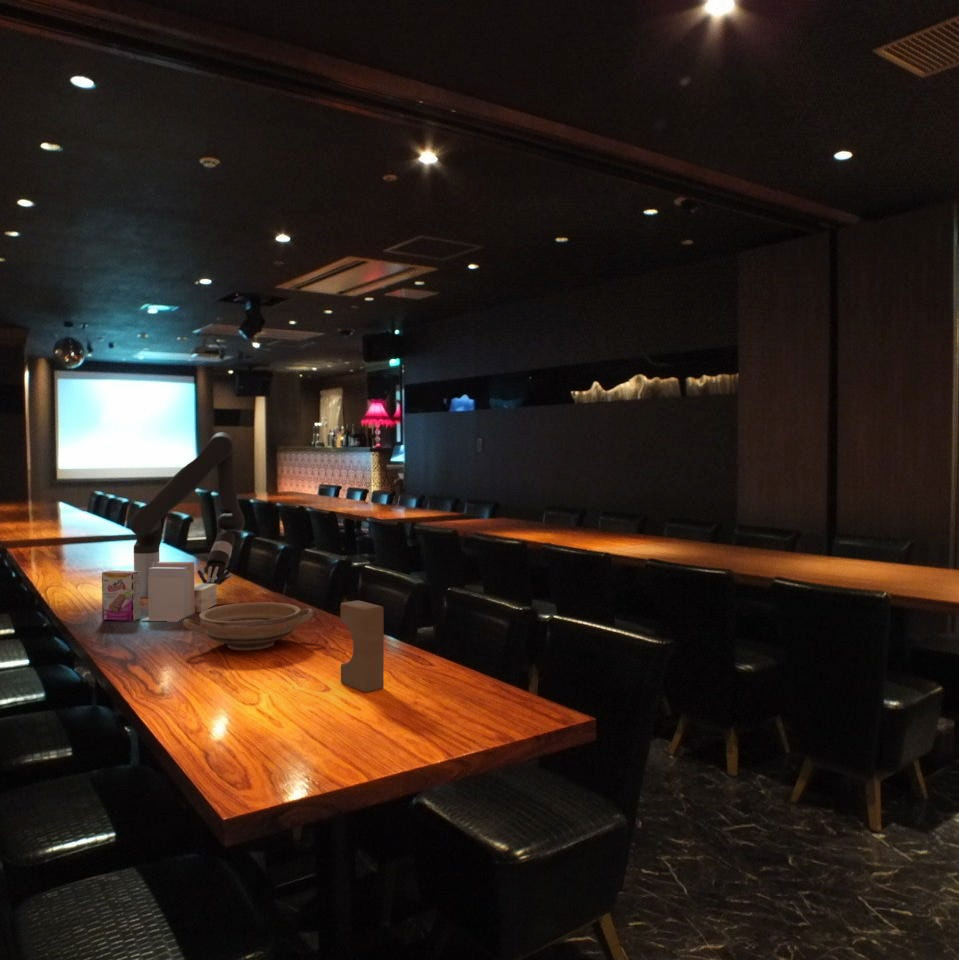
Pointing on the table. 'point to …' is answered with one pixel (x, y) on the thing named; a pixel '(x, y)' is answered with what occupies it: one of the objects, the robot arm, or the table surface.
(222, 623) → the ceramic bowl
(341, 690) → the table surface
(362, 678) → the decorative block
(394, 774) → the table surface
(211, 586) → the beige rectangular block
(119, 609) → the candy bar box
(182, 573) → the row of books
